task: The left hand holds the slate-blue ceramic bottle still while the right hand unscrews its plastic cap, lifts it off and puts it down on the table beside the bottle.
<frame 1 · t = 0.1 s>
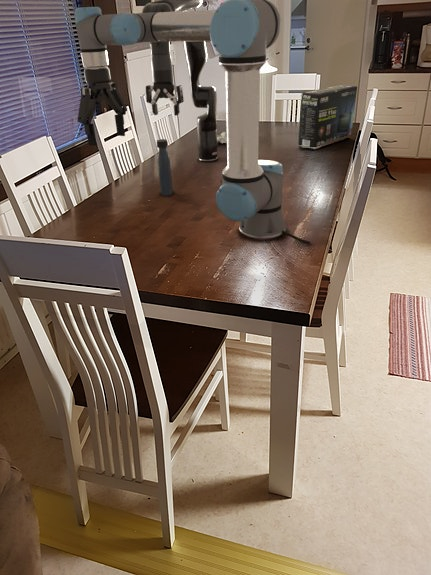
left hand: (166, 115, 174), 29 cm above the table, tool pointing down, fingers open, 8 cm apart
right hand: (107, 140, 148), 28 cm above the table, tool pointing down, fingers open, 13 cm apart
router box: (325, 143, 245), on the table
bottle: (166, 193, 185), on the table
fossil: (228, 142, 254), on the table
cap: (161, 141, 174), point 21 cm above the table, screwed on, not yet turned
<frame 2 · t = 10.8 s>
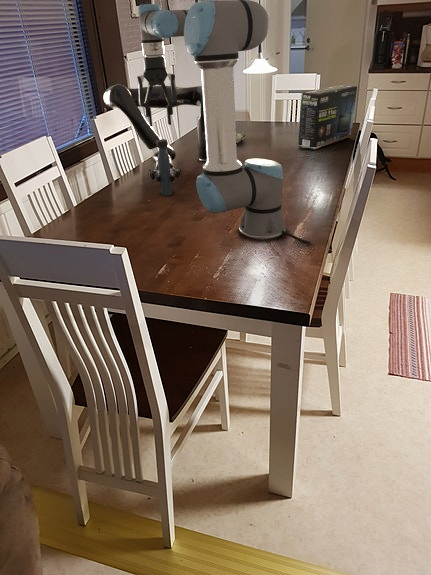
left hand: (165, 179, 179), 7 cm above the table, tool horizontal, fingers closed on bottle, 4 cm apart
right hand: (160, 124, 171), 27 cm above the table, tool pointing down, fingers open, 6 cm apart
bottle: (166, 193, 185), on the table, touching left hand
everything else where it was.
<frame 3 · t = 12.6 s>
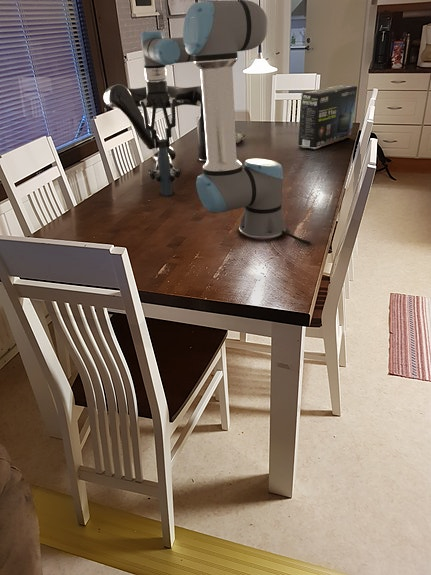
left hand: (165, 179, 179), 7 cm above the table, tool horizontal, fingers closed on bottle, 4 cm apart
right hand: (162, 146, 176), 19 cm above the table, tool pointing down, fingers closed on cap, 4 cm apart
bottle: (166, 193, 185), on the table, touching left hand
cap: (161, 141, 174), point 21 cm above the table, screwed on, not yet turned, touching right hand
everything else where it was.
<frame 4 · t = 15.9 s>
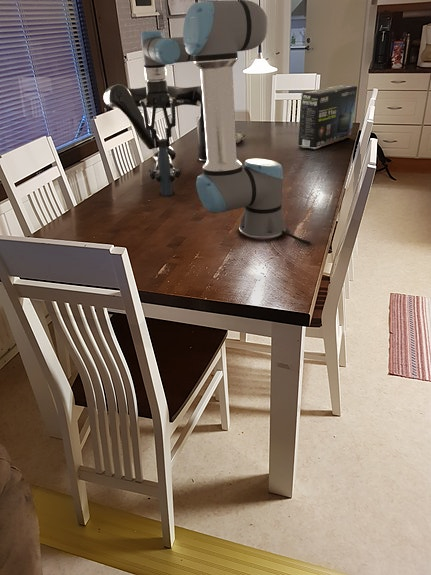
left hand: (165, 179, 179), 7 cm above the table, tool horizontal, fingers closed on bottle, 4 cm apart
right hand: (162, 146, 175), 19 cm above the table, tool pointing down, fingers closed on cap, 4 cm apart
bottle: (166, 193, 185), on the table, touching left hand
cap: (161, 141, 174), point 21 cm above the table, turned 100° so far, risen 0.1 cm, still on its thread, touching right hand
everything else where it was.
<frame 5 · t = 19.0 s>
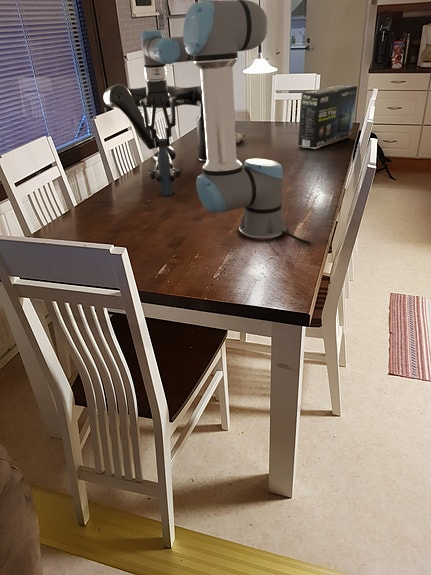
left hand: (165, 179, 179), 7 cm above the table, tool horizontal, fingers closed on bottle, 4 cm apart
right hand: (162, 146, 175), 19 cm above the table, tool pointing down, fingers closed on cap, 4 cm apart
bottle: (166, 193, 185), on the table, touching left hand
cap: (161, 140, 174), point 21 cm above the table, turned 200° so far, risen 0.2 cm, still on its thread, touching right hand
everything else where it was.
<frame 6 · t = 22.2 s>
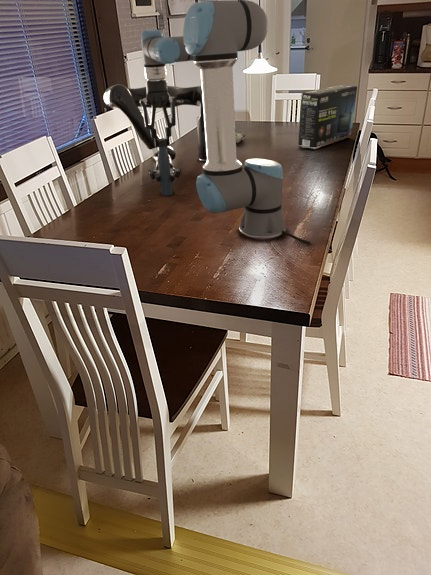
left hand: (165, 179, 179), 7 cm above the table, tool horizontal, fingers closed on bottle, 4 cm apart
right hand: (162, 146, 175), 19 cm above the table, tool pointing down, fingers closed on cap, 4 cm apart
bottle: (166, 193, 185), on the table, touching left hand
cap: (161, 140, 174), point 21 cm above the table, turned 300° so far, risen 0.3 cm, still on its thread, touching right hand
everything else where it was.
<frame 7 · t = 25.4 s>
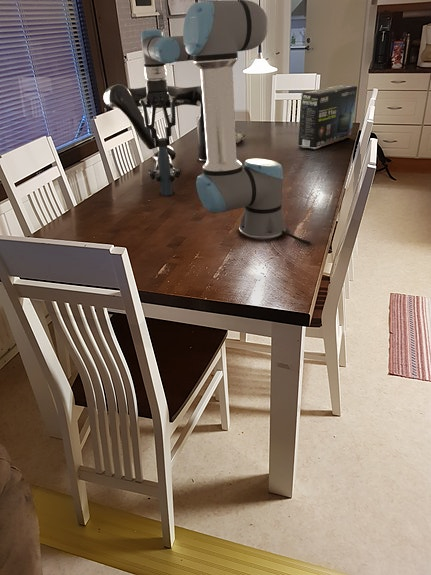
left hand: (165, 179, 179), 7 cm above the table, tool horizontal, fingers closed on bottle, 4 cm apart
right hand: (162, 145, 175), 19 cm above the table, tool pointing down, fingers closed on cap, 4 cm apart
bottle: (166, 193, 185), on the table, touching left hand
cap: (161, 140, 174), point 21 cm above the table, turned 400° so far, risen 0.4 cm, still on its thread, touching right hand
everything else where it was.
when the right hand's fingers open (1 cm above the table, at t = 32.5 s): cap stays where it is, point 2 cm above the table.
when the left hand's fingers open (7 cm above the table, at t = 33.8 s): bottle stays where it is, on the table.
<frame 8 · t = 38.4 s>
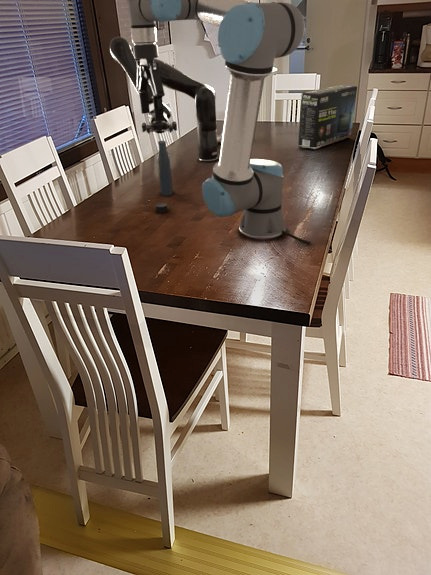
left hand: (159, 130, 183), 22 cm above the table, tool horizontal, fingers open, 8 cm apart
right hand: (152, 116, 152), 33 cm above the table, tool pointing down, fingers open, 13 cm apart
bottle: (166, 193, 185), on the table
cap: (161, 205, 168), point 2 cm above the table, off its thread
everything else where it was.
at the end: cap came off its thread; cap point 2.0 cm above the table; the left hand is holding nothing; the right hand is holding nothing; bottle tilted 0°; bottle moved 0.0 cm from its start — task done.
